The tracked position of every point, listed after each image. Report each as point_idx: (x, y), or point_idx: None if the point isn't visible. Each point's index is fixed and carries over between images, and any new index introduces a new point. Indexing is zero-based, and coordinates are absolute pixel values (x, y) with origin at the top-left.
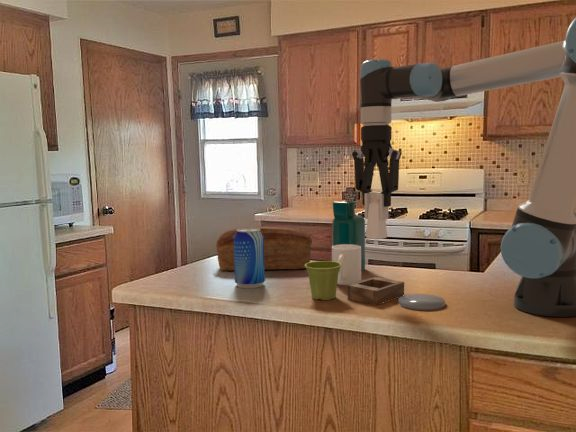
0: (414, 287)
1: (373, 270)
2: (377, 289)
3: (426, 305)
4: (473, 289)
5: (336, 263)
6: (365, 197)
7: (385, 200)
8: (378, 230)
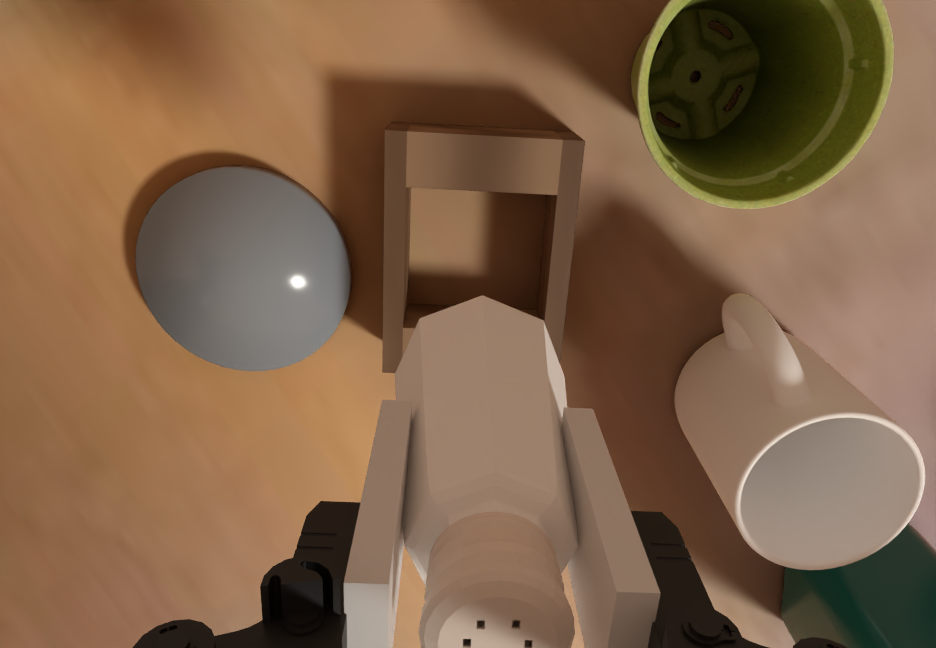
0: None
1: (737, 622)
2: (401, 162)
3: (170, 205)
4: (220, 579)
5: (715, 193)
6: (630, 553)
7: (329, 550)
8: (422, 347)
